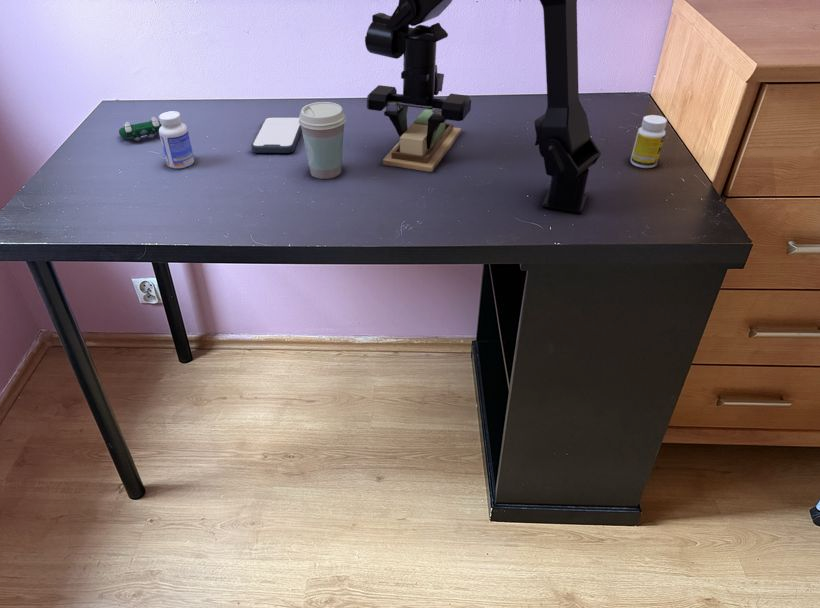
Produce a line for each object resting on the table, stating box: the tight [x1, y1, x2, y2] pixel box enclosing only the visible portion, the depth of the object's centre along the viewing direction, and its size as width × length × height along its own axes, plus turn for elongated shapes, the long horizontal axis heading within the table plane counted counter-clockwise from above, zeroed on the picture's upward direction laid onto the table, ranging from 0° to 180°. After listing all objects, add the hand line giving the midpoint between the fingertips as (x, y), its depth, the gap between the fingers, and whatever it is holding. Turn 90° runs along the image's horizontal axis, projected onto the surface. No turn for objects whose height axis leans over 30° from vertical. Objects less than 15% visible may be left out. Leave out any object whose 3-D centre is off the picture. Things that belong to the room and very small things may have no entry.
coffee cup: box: [298, 101, 347, 180], centre depth 121 cm, size 9×8×12 cm
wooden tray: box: [382, 122, 462, 173], centre depth 131 cm, size 19×10×2 cm, turn 157°
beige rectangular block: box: [399, 122, 434, 156], centre depth 127 cm, size 7×4×4 cm, turn 157°
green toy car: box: [118, 116, 162, 142], centre depth 139 cm, size 9×4×6 cm
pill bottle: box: [158, 110, 195, 170], centre depth 127 cm, size 5×5×10 cm
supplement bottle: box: [629, 114, 668, 169], centre depth 121 cm, size 5×5×8 cm
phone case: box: [251, 116, 302, 154], centre depth 137 cm, size 9×2×16 cm
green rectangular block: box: [413, 108, 447, 144], centre depth 132 cm, size 7×4×4 cm, turn 157°
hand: (417, 146), depth 128 cm, fingers closed on beige rectangular block, 4 cm apart
